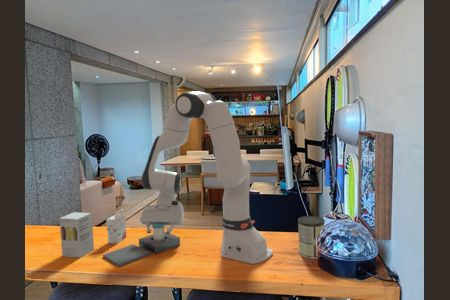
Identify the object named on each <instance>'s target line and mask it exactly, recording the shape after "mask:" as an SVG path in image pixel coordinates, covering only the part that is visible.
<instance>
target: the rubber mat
mask: <svg viewBox="0 0 450 300" xmlns="http://www.w3.org/2000/svg"><path fill="white" fill-rule="evenodd" d="M148 256H151V252H149V251H147V250H145V249H143V248H141V247H139V245H136V244H133V243H132V244H130V245H127V246H124V247H122V248H121V247H120V248H118V249H116V250H112V251H109V252H107V253H104V254H103V255H102V257H103V258H104V259H106V260H107V261H109V262H110V263H112V264H114V265H116V266H117V267H118V268H121V267H123V266H125V265H128V264H131V263H133V262H135V261H138V260H141V259H143V258H144V259H145V257H148Z"/></svg>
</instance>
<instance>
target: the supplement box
mask: <svg viewBox="0 0 450 300" xmlns="http://www.w3.org/2000/svg"><path fill="white" fill-rule="evenodd" d="M59 229H60V230H59V231H60V240H61V241H60V242H61V254H62V255H61V256H62V257H67V258H77V259H79V258H80V259H81V258H83V257H85V256H86V255H87V254H89V253H90V252H92V251H94V250H95V243H94V230H93V229H94V227H93V217H92V212H77V211H74V212H71V213H69V214H66V215H64V216H61V217H59Z"/></svg>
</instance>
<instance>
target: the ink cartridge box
mask: <svg viewBox="0 0 450 300" xmlns="http://www.w3.org/2000/svg"><path fill="white" fill-rule="evenodd" d="M124 209H125V208H120V209H119V210H117V211H115V212H114V214H113V215H112V216H110V217H108V218H107V219H106V220H105V222H106V231H107V241H108V242H107V243H108V244H119V243H120V242H122V241H123V240H124V239H126V238H127V230H126V229H127V228H126V227H127V226H126V216H125V210H124Z"/></svg>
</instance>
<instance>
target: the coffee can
mask: <svg viewBox="0 0 450 300" xmlns="http://www.w3.org/2000/svg"><path fill="white" fill-rule="evenodd" d="M297 222H298V227H297V228H298V255H300V256H301V257H303V258H306V259H310V260H311V259H312V260H314V259H315V260H316V259H317V258H318V255H317V250H316V238H317V237H318V236H319V233H320V231H321V230H322V228H323V227H324V228H325V222H326V221H325V219H324V218H323V217H321V216H315V215H305V216H300V217H298V219H297ZM318 259H319V258H318Z"/></svg>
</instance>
